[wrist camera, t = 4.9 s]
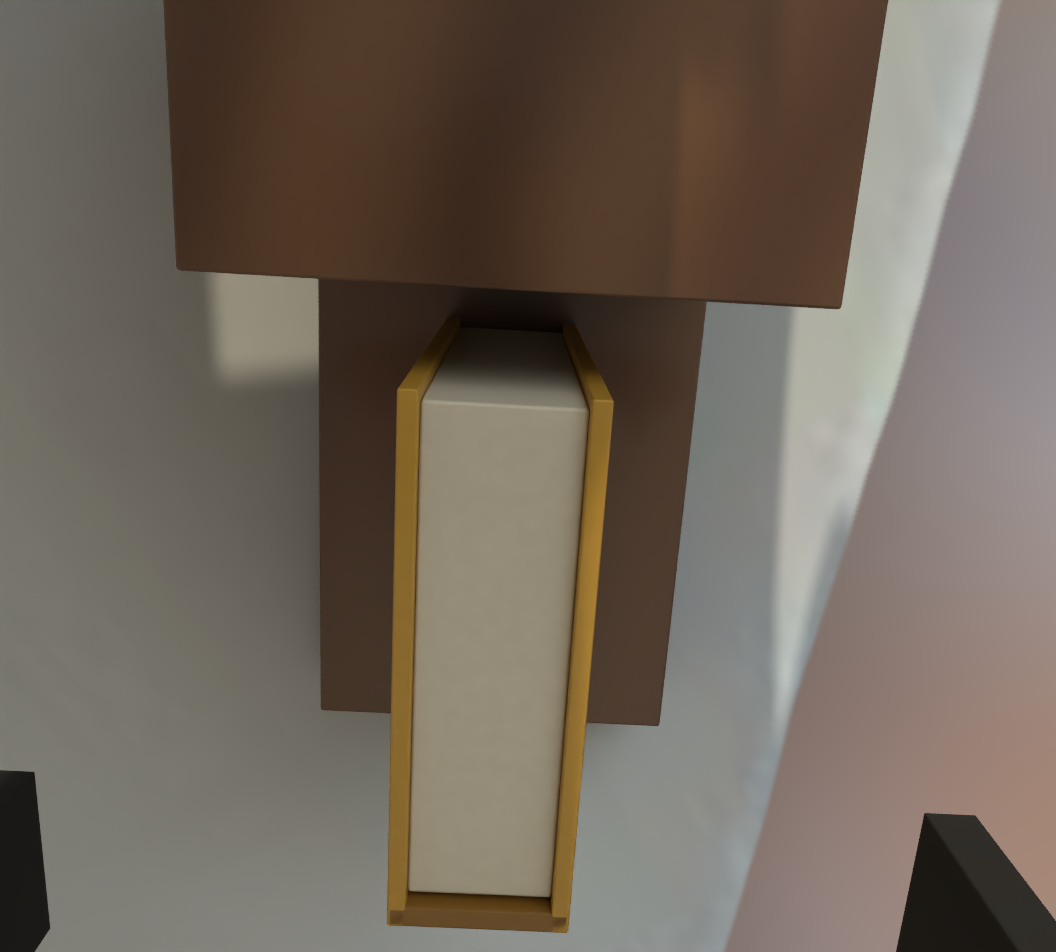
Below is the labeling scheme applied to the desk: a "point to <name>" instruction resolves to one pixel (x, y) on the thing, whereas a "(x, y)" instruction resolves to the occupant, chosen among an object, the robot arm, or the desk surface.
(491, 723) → the ochre book
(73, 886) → the desk surface
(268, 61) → the step shelf
